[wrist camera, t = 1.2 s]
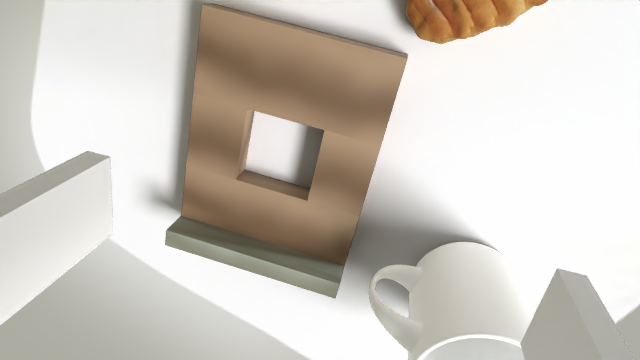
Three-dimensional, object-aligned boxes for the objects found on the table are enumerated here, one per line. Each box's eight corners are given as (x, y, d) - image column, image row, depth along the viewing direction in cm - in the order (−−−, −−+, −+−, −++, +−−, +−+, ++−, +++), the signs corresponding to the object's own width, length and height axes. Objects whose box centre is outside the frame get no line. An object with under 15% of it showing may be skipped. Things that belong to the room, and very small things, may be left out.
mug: (398, 203, 34) (392, 287, 25) (541, 264, 34) (592, 374, 24) (356, 283, 38) (336, 384, 28) (485, 340, 38) (509, 460, 28)
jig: (214, 4, 31) (184, 6, 27) (407, 54, 30) (406, 64, 26) (190, 218, 39) (165, 244, 35) (343, 265, 37) (335, 298, 33)
